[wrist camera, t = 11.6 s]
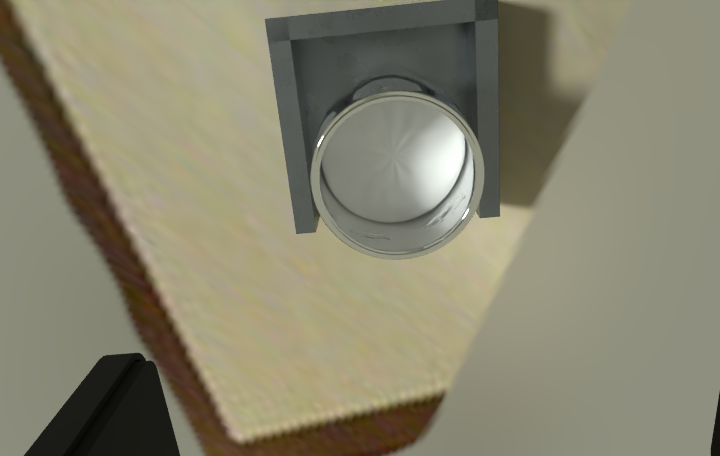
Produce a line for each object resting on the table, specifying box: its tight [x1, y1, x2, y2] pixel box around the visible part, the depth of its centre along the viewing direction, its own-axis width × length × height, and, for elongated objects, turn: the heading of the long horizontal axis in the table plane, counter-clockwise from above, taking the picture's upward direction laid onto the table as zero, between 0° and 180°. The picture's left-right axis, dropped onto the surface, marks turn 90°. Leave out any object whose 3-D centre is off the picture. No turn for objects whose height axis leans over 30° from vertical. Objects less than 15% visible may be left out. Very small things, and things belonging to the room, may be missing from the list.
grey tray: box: [265, 0, 500, 234], centre depth 33 cm, size 12×12×4 cm
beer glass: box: [310, 66, 485, 260], centre depth 28 cm, size 7×7×15 cm
